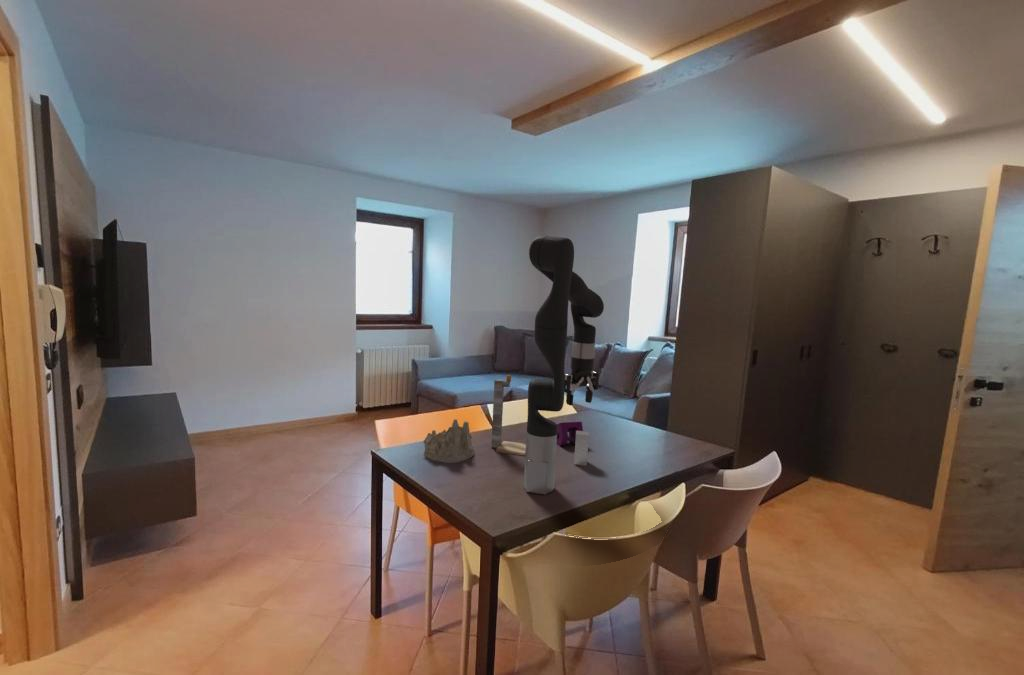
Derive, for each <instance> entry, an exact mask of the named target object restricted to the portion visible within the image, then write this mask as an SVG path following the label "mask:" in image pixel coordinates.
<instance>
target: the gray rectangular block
mask: <svg viewBox="0 0 1024 675" xmlns="http://www.w3.org/2000/svg"><path fill="white" fill-rule="evenodd" d="M589 438H590V431H584V430H583V431H576V440H575V446H574V457H573V458H574V460H573V465H575V466H583V467H587V466H588V455H589V454H588V452H589Z"/></svg>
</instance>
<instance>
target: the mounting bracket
mask: <svg viewBox="0 0 1024 675" xmlns="http://www.w3.org/2000/svg"><path fill="white" fill-rule="evenodd" d="M556 424H557V444H556V446H559V447H561V446H563V447H564V446H566V445H567V444H568V439H569V440H570V443H572V445H574V444H575V440H576V431H584V428H583V422H582V421H570V422H568V421H566V422H559V423H556Z"/></svg>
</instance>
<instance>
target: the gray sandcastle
mask: <svg viewBox="0 0 1024 675" xmlns="http://www.w3.org/2000/svg"><path fill="white" fill-rule="evenodd" d="M470 430H471V429H470V426H469V421H464V422H463V425H462V426H460V425H459V422H458V419H457V418H456V419H455V418H454V419H453V421H452V423H451V426H449V427H448V429H447V430H445V429H444V430H442V431H440V432H438V433H437V432H436V430H434V429H433V430H432V431H431V432H428V434H427V435H426V436H425V437H424V439H423V444H424V451H423V456H424V457H426V458H427V459H429V460H431V461H433V462H434V461H435V462H441V463H445V464H446V463H447V464H455V463H460V462H461V463H462V462H464V461H466V460H468V459H470V458H472V457H473V456H475V454H476V452H475V448H474V446H473V444H472V442H473V441H472V438H473V437H472V435H471V432H470Z"/></svg>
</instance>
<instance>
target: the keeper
mask: <svg viewBox="0 0 1024 675" xmlns="http://www.w3.org/2000/svg"><path fill="white" fill-rule="evenodd" d="M511 382H512V375H511V374H507V375H506V380H505V379H498V378H497V379H495V380H494V382H493V383H494V384H493V401H492V403H493V404H492V421H491V422H492V425H491V427H492V428H491V444H490V446H491V448H494V449H495V452H497V453H503V454H511V455H517V456H523V457H525V453H526V443H523V442H515V441H507V440H503V441H502V432H503V431H502V430H503V429H502V428H503V414H504V413H503V410H504V391H505V390H504V389H505V388H509V387H510V386H511Z"/></svg>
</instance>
